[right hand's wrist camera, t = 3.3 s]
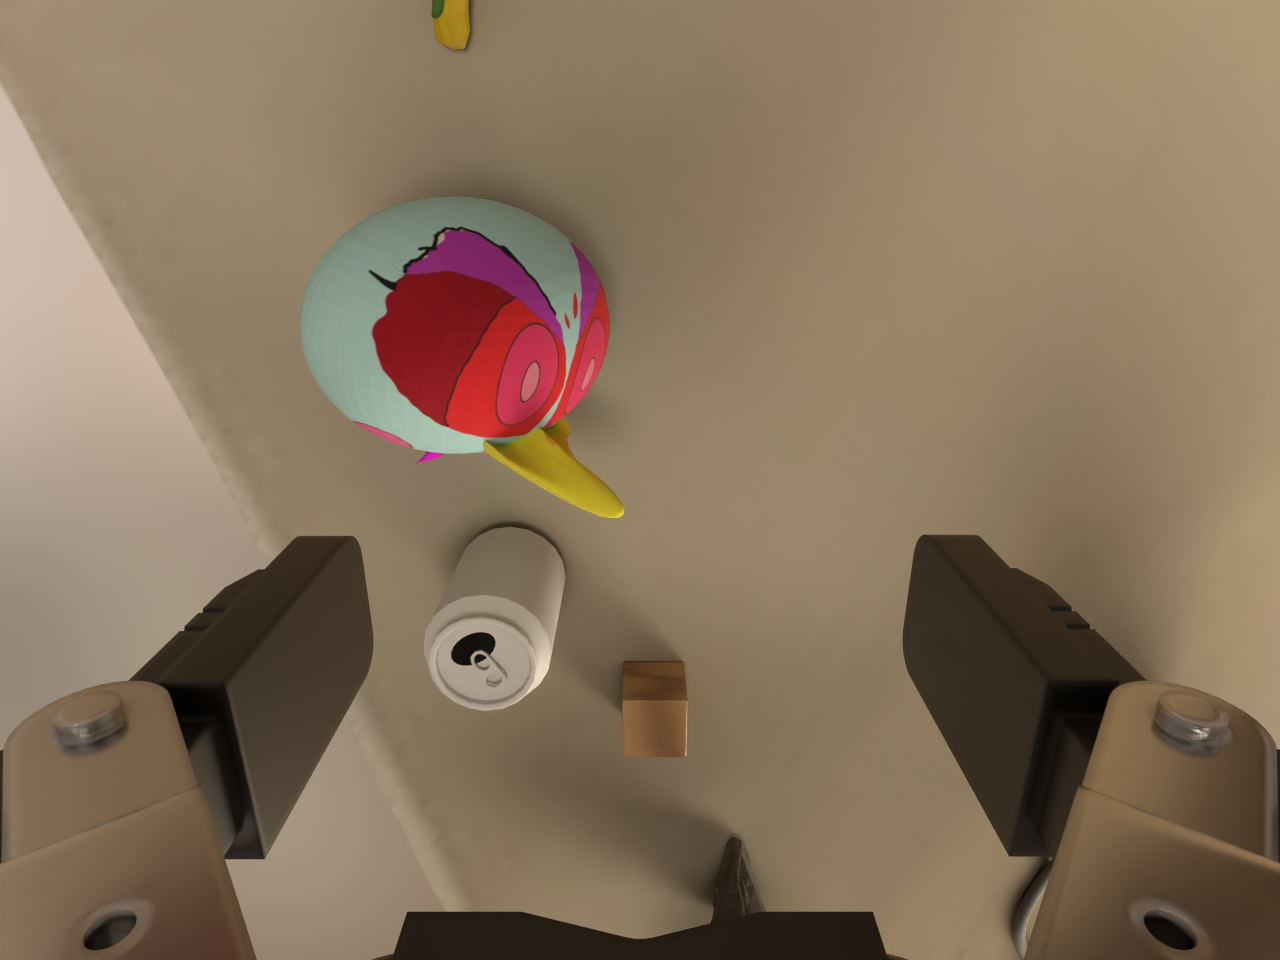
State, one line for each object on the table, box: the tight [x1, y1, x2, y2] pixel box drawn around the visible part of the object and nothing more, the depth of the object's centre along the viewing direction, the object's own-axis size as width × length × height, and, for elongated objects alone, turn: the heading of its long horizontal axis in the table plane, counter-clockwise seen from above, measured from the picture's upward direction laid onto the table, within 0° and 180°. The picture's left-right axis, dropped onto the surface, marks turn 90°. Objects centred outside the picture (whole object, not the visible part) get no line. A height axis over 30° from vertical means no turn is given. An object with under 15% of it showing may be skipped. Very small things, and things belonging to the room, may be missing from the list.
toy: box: [300, 196, 624, 518], centre depth 40 cm, size 18×18×15 cm
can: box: [423, 527, 566, 711], centre depth 49 cm, size 8×8×12 cm
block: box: [622, 662, 687, 757], centre depth 57 cm, size 4×5×5 cm
